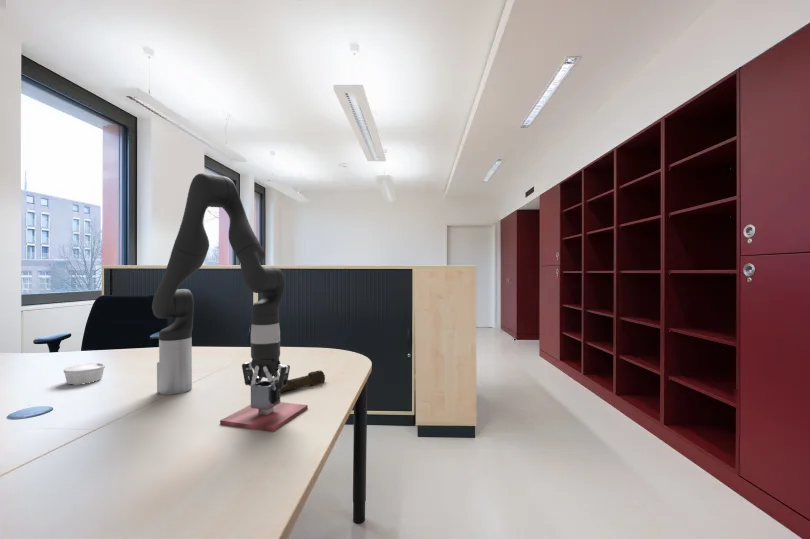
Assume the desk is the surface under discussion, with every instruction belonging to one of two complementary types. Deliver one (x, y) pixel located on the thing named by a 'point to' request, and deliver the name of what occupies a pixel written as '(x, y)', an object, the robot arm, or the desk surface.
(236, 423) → the post base
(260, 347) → the robot arm
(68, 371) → the ramekin
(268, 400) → the square socket
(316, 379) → the hand tool
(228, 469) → the desk surface
